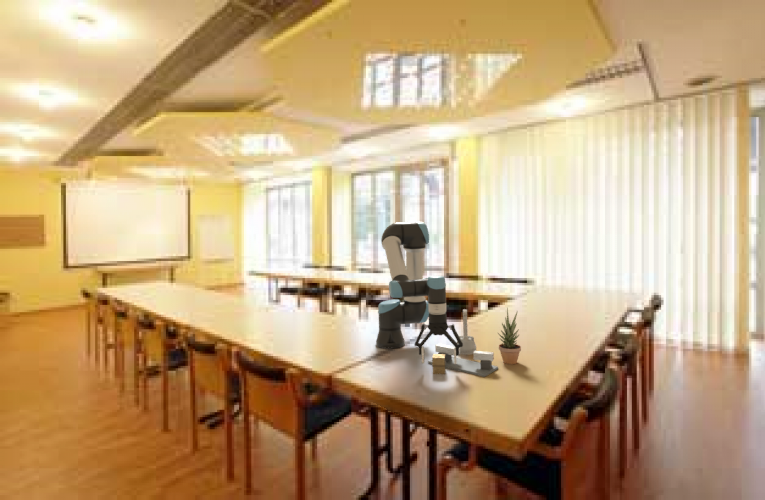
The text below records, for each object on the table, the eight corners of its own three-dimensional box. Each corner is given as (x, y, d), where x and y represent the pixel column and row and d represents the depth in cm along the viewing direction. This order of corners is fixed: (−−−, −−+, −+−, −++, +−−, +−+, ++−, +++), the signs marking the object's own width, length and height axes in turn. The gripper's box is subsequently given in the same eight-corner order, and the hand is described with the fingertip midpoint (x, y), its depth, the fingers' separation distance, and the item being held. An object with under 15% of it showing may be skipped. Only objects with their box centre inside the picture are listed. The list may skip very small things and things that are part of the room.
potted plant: (521, 359, 187) (520, 305, 185) (521, 366, 178) (520, 309, 176) (498, 357, 190) (497, 305, 188) (497, 364, 181) (496, 309, 180)
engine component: (455, 354, 198) (476, 354, 196) (454, 312, 197) (475, 312, 195) (455, 347, 208) (476, 348, 206) (454, 307, 207) (475, 307, 205)
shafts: (435, 351, 188) (435, 345, 188) (442, 348, 192) (442, 342, 192) (489, 363, 170) (489, 356, 170) (496, 359, 174) (495, 352, 174)
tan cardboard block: (432, 374, 172) (432, 357, 172) (433, 369, 177) (433, 353, 177) (445, 374, 171) (444, 358, 171) (445, 370, 176) (445, 354, 176)
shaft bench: (428, 363, 185) (428, 353, 185) (443, 356, 194) (442, 347, 194) (484, 377, 167) (484, 366, 166) (498, 368, 176) (497, 358, 175)
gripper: (406, 314, 172) (408, 364, 173) (467, 314, 167) (469, 366, 167) (409, 311, 179) (411, 359, 180) (467, 311, 174) (469, 360, 175)
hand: (439, 362), depth 174 cm, fingers open, 13 cm apart
